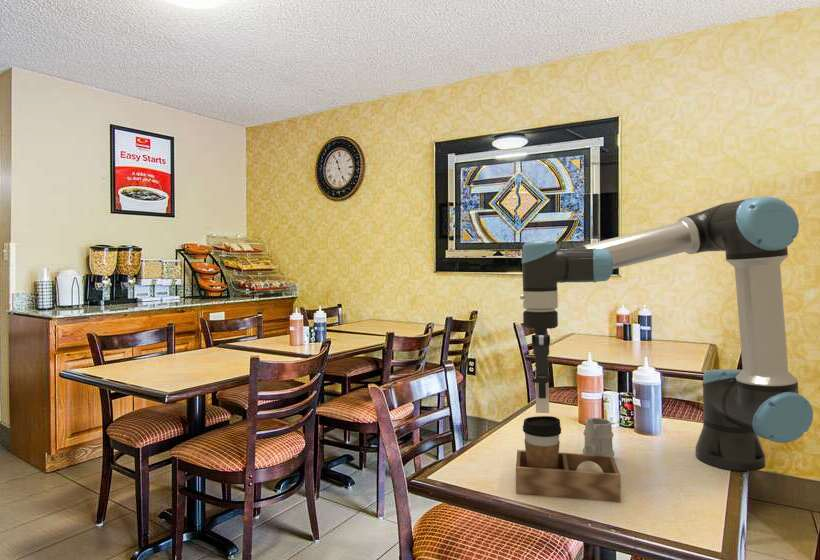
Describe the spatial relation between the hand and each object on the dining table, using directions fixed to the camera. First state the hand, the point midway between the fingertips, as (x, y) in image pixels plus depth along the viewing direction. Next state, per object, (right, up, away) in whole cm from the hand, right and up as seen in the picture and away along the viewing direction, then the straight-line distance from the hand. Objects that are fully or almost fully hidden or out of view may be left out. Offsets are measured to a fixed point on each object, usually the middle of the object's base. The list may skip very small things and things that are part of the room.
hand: (541, 404), depth 117 cm
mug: (+18, -19, +16) cm, 30 cm away
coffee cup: (0, -19, +1) cm, 19 cm away
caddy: (+5, -19, -1) cm, 20 cm away
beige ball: (+10, -18, -2) cm, 21 cm away
